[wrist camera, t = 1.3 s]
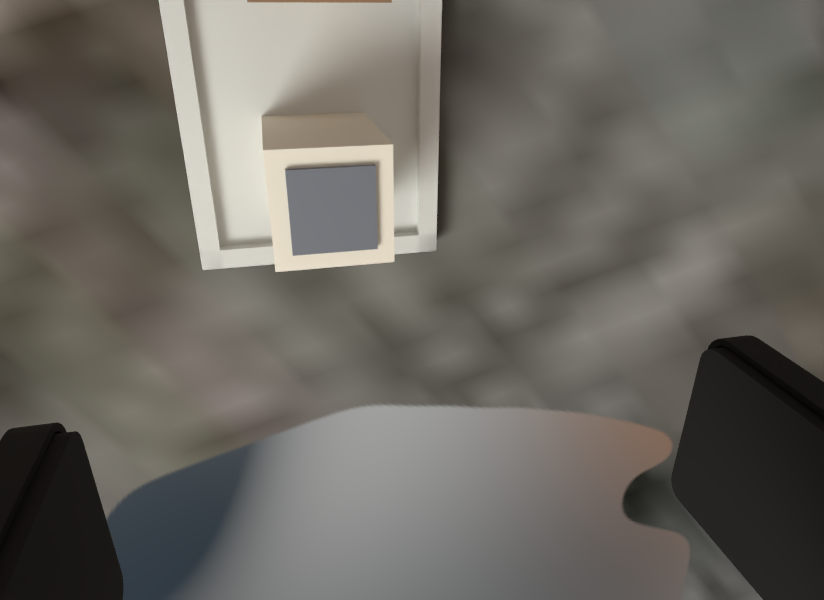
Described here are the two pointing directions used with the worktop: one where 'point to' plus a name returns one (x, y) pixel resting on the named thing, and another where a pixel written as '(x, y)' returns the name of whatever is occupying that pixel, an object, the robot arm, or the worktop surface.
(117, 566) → the robot arm
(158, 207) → the worktop surface
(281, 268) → the label box
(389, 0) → the walnut block
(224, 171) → the tray
